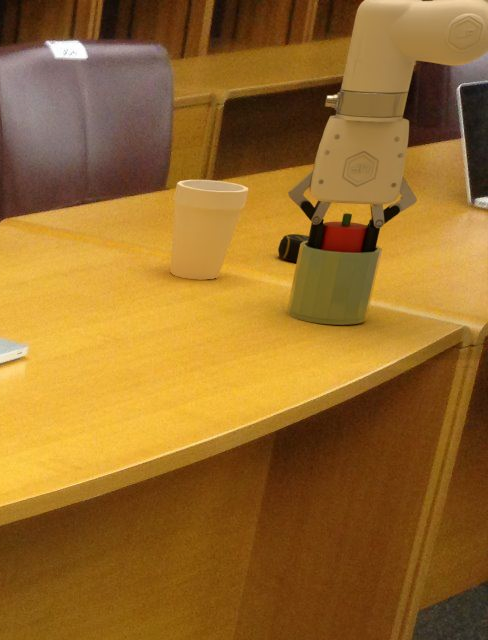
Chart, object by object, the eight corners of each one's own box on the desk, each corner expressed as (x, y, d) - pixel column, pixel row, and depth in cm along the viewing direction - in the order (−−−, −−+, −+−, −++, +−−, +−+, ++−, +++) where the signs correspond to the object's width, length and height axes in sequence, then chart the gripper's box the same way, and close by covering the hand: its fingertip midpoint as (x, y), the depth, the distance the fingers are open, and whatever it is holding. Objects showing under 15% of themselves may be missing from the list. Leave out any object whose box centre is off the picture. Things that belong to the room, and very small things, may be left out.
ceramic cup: (381, 323, 196) (397, 251, 192) (315, 326, 194) (330, 254, 190) (336, 306, 204) (351, 238, 200) (272, 309, 203) (286, 240, 199)
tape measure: (330, 269, 227) (336, 244, 225) (282, 266, 228) (288, 241, 226) (317, 259, 233) (323, 234, 231) (270, 256, 234) (276, 231, 232)
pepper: (367, 266, 196) (379, 215, 193) (342, 270, 193) (353, 218, 190) (332, 259, 200) (342, 209, 197) (306, 263, 197) (316, 212, 194)
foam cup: (145, 273, 222) (163, 181, 216) (196, 269, 225) (215, 178, 219) (189, 288, 214) (209, 193, 208) (241, 284, 217) (263, 190, 211)
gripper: (297, 107, 187) (268, 257, 195) (452, 112, 182) (416, 266, 190) (294, 101, 194) (266, 247, 202) (443, 105, 189) (408, 255, 197)
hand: (339, 254), depth 196 cm, fingers closed on pepper, 5 cm apart
